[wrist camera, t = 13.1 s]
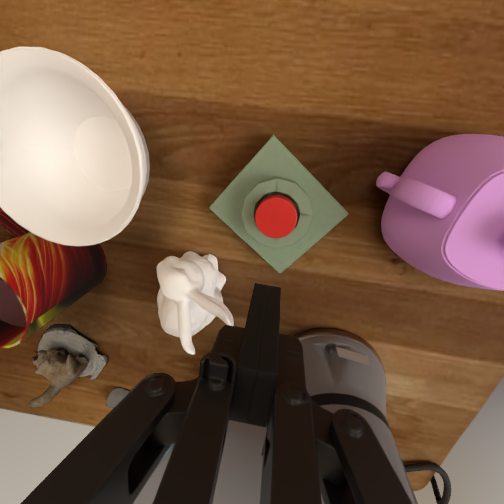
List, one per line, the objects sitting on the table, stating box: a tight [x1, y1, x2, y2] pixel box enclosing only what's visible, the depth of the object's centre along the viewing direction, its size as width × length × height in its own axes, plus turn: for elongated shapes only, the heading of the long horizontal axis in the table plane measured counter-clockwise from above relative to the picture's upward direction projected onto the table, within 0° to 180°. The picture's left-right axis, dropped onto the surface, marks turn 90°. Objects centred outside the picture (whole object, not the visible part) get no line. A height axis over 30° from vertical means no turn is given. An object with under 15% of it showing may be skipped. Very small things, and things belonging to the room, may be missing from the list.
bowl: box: [0, 47, 150, 246], centre depth 27 cm, size 16×16×9 cm
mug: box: [0, 207, 106, 348], centre depth 31 cm, size 10×14×12 cm
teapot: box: [376, 134, 504, 291], centre depth 24 cm, size 20×13×12 cm, turn 71°
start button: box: [255, 194, 297, 238], centre depth 27 cm, size 4×4×2 cm
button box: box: [209, 135, 349, 274], centre depth 29 cm, size 11×10×4 cm
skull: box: [29, 324, 108, 408], centre depth 41 cm, size 10×12×6 cm
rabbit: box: [157, 251, 234, 355], centre depth 30 cm, size 12×9×12 cm
